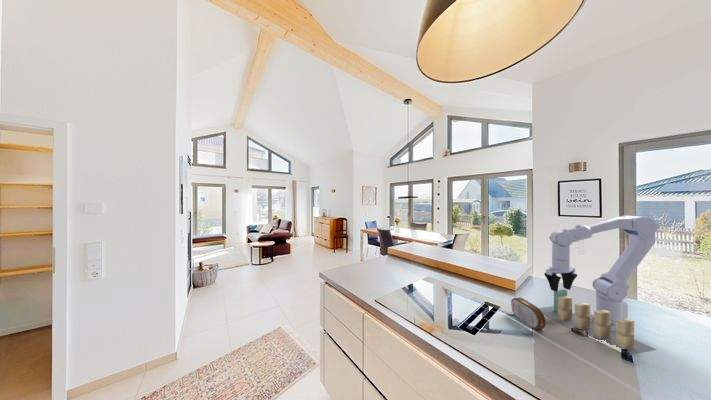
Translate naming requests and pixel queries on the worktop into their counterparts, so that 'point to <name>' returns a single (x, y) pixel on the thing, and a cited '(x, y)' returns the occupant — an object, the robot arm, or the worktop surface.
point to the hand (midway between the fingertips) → (560, 289)
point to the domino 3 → (582, 315)
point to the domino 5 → (625, 333)
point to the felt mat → (611, 340)
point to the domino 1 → (557, 294)
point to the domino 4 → (602, 324)
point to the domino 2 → (564, 308)
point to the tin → (528, 313)
